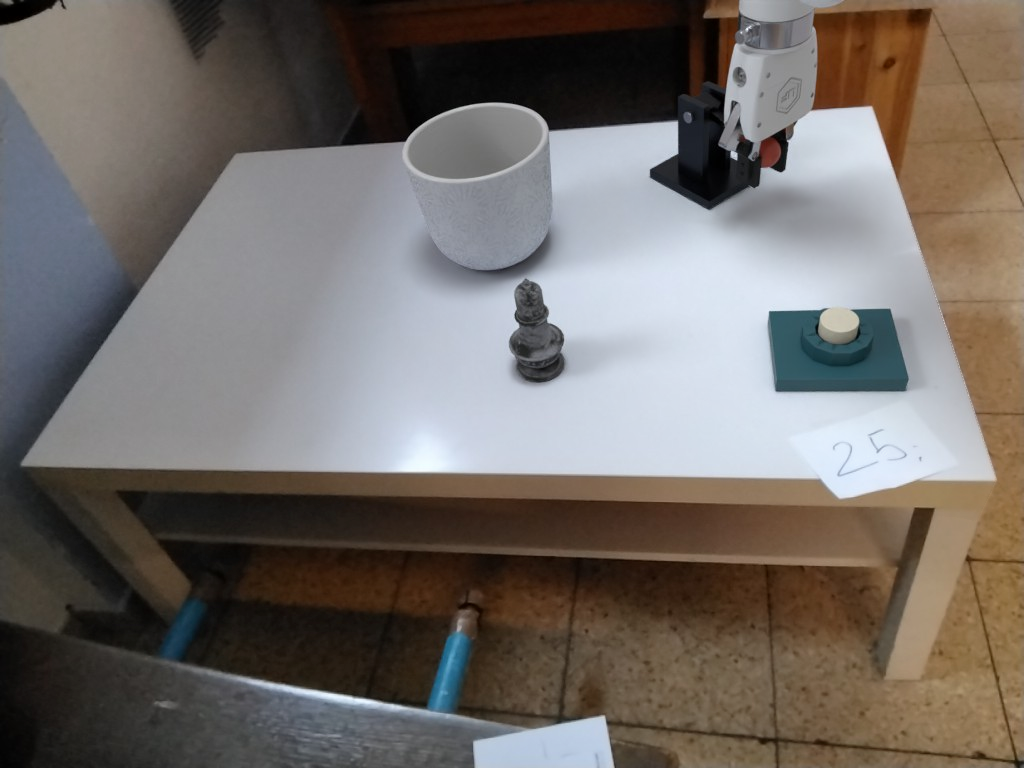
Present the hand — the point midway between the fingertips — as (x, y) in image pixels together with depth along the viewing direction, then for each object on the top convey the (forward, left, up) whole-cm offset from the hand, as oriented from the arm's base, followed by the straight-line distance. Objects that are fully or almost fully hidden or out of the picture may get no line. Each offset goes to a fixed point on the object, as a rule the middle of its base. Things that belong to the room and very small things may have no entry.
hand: (760, 173), depth 99 cm
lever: (+3, -3, +2) cm, 5 cm away
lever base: (+6, -7, -5) cm, 10 cm away
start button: (-6, +26, -2) cm, 27 cm away
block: (-6, +26, -5) cm, 27 cm away
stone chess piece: (+24, +27, -5) cm, 37 cm away
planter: (+32, +6, -5) cm, 33 cm away
